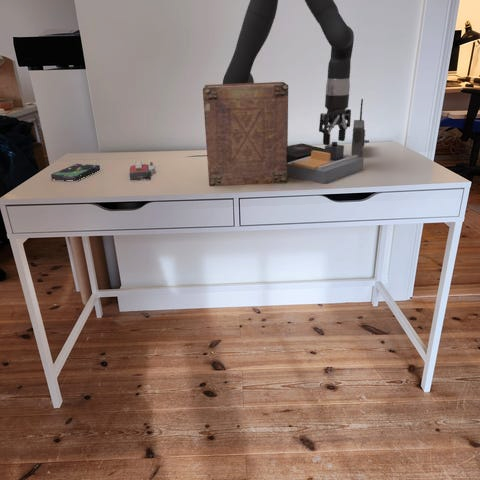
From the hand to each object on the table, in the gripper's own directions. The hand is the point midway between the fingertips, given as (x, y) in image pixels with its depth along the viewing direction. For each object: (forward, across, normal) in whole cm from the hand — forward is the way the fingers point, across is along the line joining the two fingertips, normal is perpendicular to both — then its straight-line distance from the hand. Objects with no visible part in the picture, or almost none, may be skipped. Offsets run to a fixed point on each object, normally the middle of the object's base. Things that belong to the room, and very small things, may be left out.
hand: (333, 142), depth 150 cm
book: (+10, +29, -13) cm, 33 cm away
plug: (+8, 0, 0) cm, 8 cm away
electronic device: (+10, -26, -6) cm, 29 cm away
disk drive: (+12, +64, -65) cm, 92 cm away
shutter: (+5, +12, 0) cm, 13 cm away
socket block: (+9, +5, 0) cm, 10 cm away
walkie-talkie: (+11, +47, -48) cm, 68 cm away
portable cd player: (+10, -4, -19) cm, 22 cm away
